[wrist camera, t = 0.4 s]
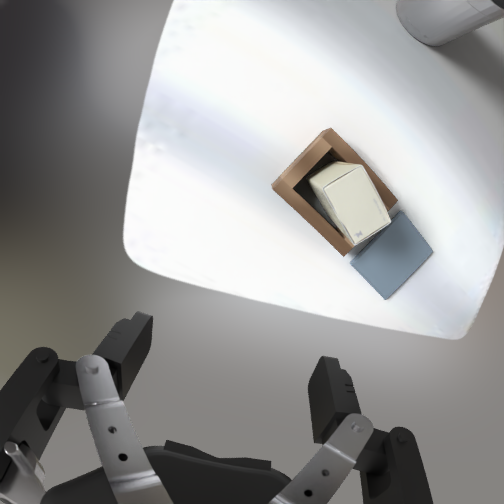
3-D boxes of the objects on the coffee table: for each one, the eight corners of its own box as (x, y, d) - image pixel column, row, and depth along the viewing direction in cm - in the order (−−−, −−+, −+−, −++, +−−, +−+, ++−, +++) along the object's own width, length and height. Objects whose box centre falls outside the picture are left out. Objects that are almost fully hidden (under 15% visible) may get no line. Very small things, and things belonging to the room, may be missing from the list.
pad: (400, 210, 36) (403, 212, 35) (429, 249, 38) (433, 251, 37) (349, 262, 39) (351, 265, 38) (382, 297, 41) (385, 300, 40)
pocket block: (323, 130, 34) (331, 127, 30) (384, 194, 36) (398, 200, 32) (271, 184, 36) (272, 189, 32) (335, 245, 38) (343, 256, 34)
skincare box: (356, 201, 36) (394, 223, 25) (327, 219, 37) (355, 248, 26) (332, 158, 35) (363, 162, 23) (302, 176, 36) (320, 188, 24)
